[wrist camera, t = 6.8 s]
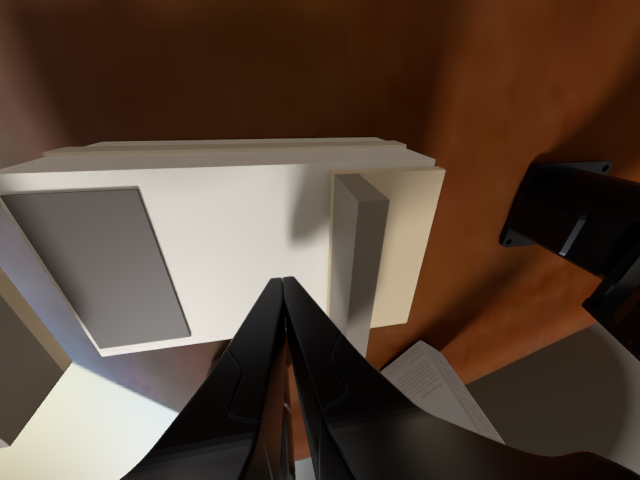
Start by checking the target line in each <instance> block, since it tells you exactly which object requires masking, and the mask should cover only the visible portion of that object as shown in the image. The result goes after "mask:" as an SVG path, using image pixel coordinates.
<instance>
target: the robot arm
mask: <svg viewBox="0 0 640 480" xmlns="http://www.w3.org/2000/svg"><path fill="white" fill-rule="evenodd" d="M611 167H612V162H610V161H605V160H591V161H565V162H538V163H535V164H533V165H532V166H531V167H530V169H529V170H528V173H527V175H526V177H525V180H524V182H523V185H522V187H521V189H520V192H519V194H518V197H517V199H516V201H515V204H514V206H513V208H512V211H511V213H510V216H509V218H508V220H507V223H506V225H505V228H504V230H503V232H502V235H501V237H500V240H499V244H500V245H502V246H503V247H515V246H525V245H535V244H538V245H540V246H541V247H543V248H545V249H547V250H549V251H551V252H552V253H554V254H556V255H558V256H560V257H562V258H563V259H565V260H567V261H569V262H571V263H573V264H574V265H576V266H578V267H580V268H582V269H584V270H585V271H587V272H589V273H591V274H593V275H594V276H596V277H598V278H600V279H602V282H601V283H600V284H599V285H598V287H597V288H596V289H595V291H594V292H593V293H592V295H591V296H590V297H589V298H586V299H585V301H584V302H583V303H582V307H583V308H584V309H585V310H586V311H588V312H589V313H590V314H591V315H592V316H593V317H594V318H595V319H596V320H597V321H598V322H599V323H600V324H601V325H602V326H603V327H604V328H605V329H607V331H609V333H611V334H612V335H613V336H614V337H615V338H616V339H617V340H618V341H619V342H620V343H621V344H622V345H623V346H624V347H625V348H626V349H627V350H628V351H629V352H631V354H633V355H634V356H635V357H636V358H637V359H638V360H639V361H640V183H639V182H635V181H630V180H626V179H622V178H617V177H613V176H609V175H607V174H608V173H609V171H610V169H611ZM282 281H283V282H282ZM285 320H286V321H285ZM286 332H287V336H286ZM287 341H288V346H289V351H290V356H291V361H292V366H293V371H294V375H295V380H296V385H297V390H298V395H299V400H300V405H301V410H302V414H303V419H304V424H305V429H306V434H307V439H308V444H309V449H310V453H311V458H312V463H313V468H314V472H315V478H316V480H640V475H639V474H637V473H636V472H634V471H632V470H630V469H628V468H626V467H625V466H623V465H621V464H618V463H617V462H614V461H612V460H610V459H608V458H606V457H603V456H601V455H599V454H597V453H594V452H591V451H581V452H575V453H571V454H567V455H563V456H555V457H550V456H540V455H535V454H531V453H527V452H524V451H521V450H518V449H515V448H512V447H510V446H507V445H505V444H502V443H500V442H497V441H495V440H493V439H490V438H488V437H485V436H483V435H480V434H478V433H475V432H473V431H470V430H468V429H465V428H463V427H460V426H458V425H456V424H453V423H451V422H448V421H446V420H443V419H441V418H438V417H436V416H434V415H431V414H430V413H428V412H426V411H424V410H423V409H421V408H420V407H418V406H417V405H416V404H414V403H413V402H412V401H411V400H410V399H409V398H407V397H406V396H405V395H404V394H403V393H402V392H401V391H400V390H399V389H398V388H396V387H395V386H394V385H393V384H392V383H391V382H390V381H389V380H388V379H387V378H386V377H385V376H383V375H382V374H381V373H380V372H379V371H378V370H377V369H376V368H375V367H374V366H373V365H372V364H371V363H370V362H369V361H368V360H367V359H365V358H364V357H363V356H362V355H361V354H360V353H359V351H358V350H357V349H356V348H355V347H354V346H353V345H352V344H351V343H350V342H349V340H348V339H347V338H346V337H345V336H344V334H342V332H341V331H340V330H339V329H338V328H337V326H336V325H335V324H334V323H333V322H332V320H331V319H330V318H329V317H328V316H327V315H326V313H325V312H324V311H323V310H322V309H321V308H320V306H319V305H318V304H317V303H316V302H315V300H314V299H313V298H312V297H311V296H310V295H309V293H308V292H307V291H306V290H305V289H304V287H303V286H302V285H301V284H300V283H299V282H298V280H297V279H296V278H295V277H294V276H287V277H283V278H281V277H277V278H271V279H270V280H269V281H268V283H267V285H266V286H265V288H264V289H263V291H262V293H261V294H260V296H259V297H258V299H257V301H256V302H255V304H254V305H253V307H252V308H251V310H250V312H249V313H248V315H247V316H246V318H245V320H244V321H243V323H242V324H241V326H240V328H239V329H238V331H237V332H236V334H235V335H234V337H233V339H232V340H231V342H230V343H229V345H228V347H227V348H226V349H227V350H225V351H224V353H223V354H222V356H221V358H220V359H219V361H218V362H217V364H216V365H215V367H214V368H213V370H212V371H211V373H210V374H209V376H208V377H207V378H206V380H205V381H204V382H203V384H202V385H201V386H200V388H199V389H198V390H197V392H196V393H195V394H194V396H193V397H192V398H191V399H190V401H189V402H188V403H187V405H186V406H185V407H184V408H183V410H182V411H181V412H180V413H179V415H178V416H177V417H176V419H175V420H174V421H173V422H172V424H171V425H170V426H169V428H168V429H167V430H166V431H165V433H164V434H163V435H162V436H161V438H160V439H159V440H158V442H157V443H156V444H155V445H154V447H153V448H152V449H151V450H150V451H149V452H148V454H147V455H146V456H145V457H144V458H143V459H142V460H141V461H140V462H139V463H138V464H137V465H136V466H135V467H134V468H133V469H132V470H131V471H130V472H128V473H127V474H126V475H125V476H124V477H122V478H121V479H120V480H279V471H280V452H281V434H282V416H283V398H284V380H285V362H286V342H287Z"/></svg>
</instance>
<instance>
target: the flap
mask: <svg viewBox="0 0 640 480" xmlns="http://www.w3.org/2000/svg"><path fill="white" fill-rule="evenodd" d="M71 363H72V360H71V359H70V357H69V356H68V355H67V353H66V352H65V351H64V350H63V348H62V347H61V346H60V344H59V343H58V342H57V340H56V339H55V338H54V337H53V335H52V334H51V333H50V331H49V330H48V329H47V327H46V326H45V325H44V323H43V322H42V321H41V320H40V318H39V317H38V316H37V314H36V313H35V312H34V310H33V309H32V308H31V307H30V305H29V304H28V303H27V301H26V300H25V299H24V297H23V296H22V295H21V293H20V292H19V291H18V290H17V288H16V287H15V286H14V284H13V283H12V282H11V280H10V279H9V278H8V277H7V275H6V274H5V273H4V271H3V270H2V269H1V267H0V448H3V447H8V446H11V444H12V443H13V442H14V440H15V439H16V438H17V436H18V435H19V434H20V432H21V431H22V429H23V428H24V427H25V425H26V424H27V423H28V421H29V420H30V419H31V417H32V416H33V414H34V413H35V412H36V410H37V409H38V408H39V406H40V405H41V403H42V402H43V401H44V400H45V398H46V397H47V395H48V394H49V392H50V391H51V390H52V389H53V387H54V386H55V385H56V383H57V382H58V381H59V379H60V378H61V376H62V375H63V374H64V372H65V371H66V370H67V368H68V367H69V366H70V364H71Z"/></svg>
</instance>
